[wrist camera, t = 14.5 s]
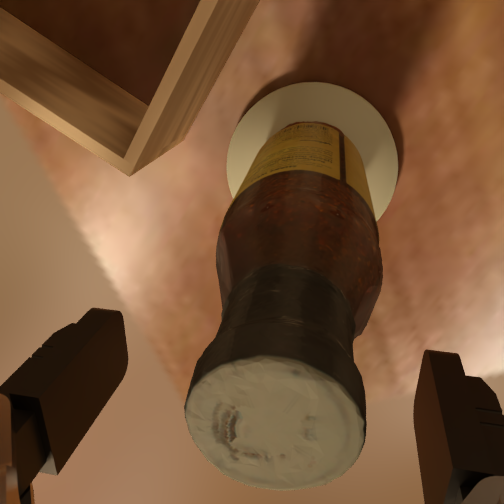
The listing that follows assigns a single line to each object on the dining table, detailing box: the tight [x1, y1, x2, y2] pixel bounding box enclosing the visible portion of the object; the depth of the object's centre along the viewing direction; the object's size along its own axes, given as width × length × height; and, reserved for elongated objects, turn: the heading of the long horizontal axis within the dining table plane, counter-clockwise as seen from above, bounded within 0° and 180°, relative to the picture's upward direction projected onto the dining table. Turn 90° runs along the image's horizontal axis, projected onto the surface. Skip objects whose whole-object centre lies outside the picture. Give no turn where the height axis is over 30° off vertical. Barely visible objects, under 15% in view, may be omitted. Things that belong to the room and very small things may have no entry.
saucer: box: [227, 82, 398, 222], centre depth 28 cm, size 10×10×1 cm
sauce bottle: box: [184, 121, 383, 491], centre depth 19 cm, size 6×6×20 cm
